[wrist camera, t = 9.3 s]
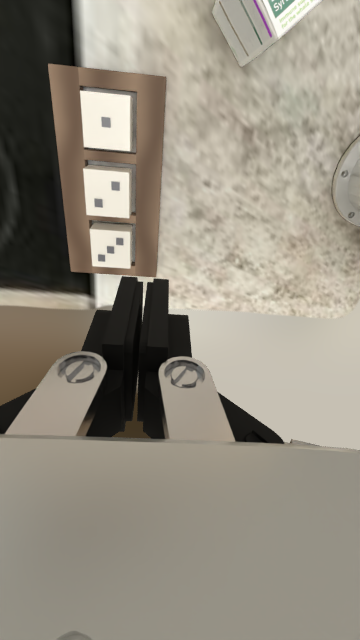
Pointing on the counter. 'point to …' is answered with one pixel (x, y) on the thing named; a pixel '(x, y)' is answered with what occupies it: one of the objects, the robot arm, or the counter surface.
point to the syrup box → (257, 23)
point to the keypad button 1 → (107, 120)
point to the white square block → (111, 245)
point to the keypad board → (76, 158)
